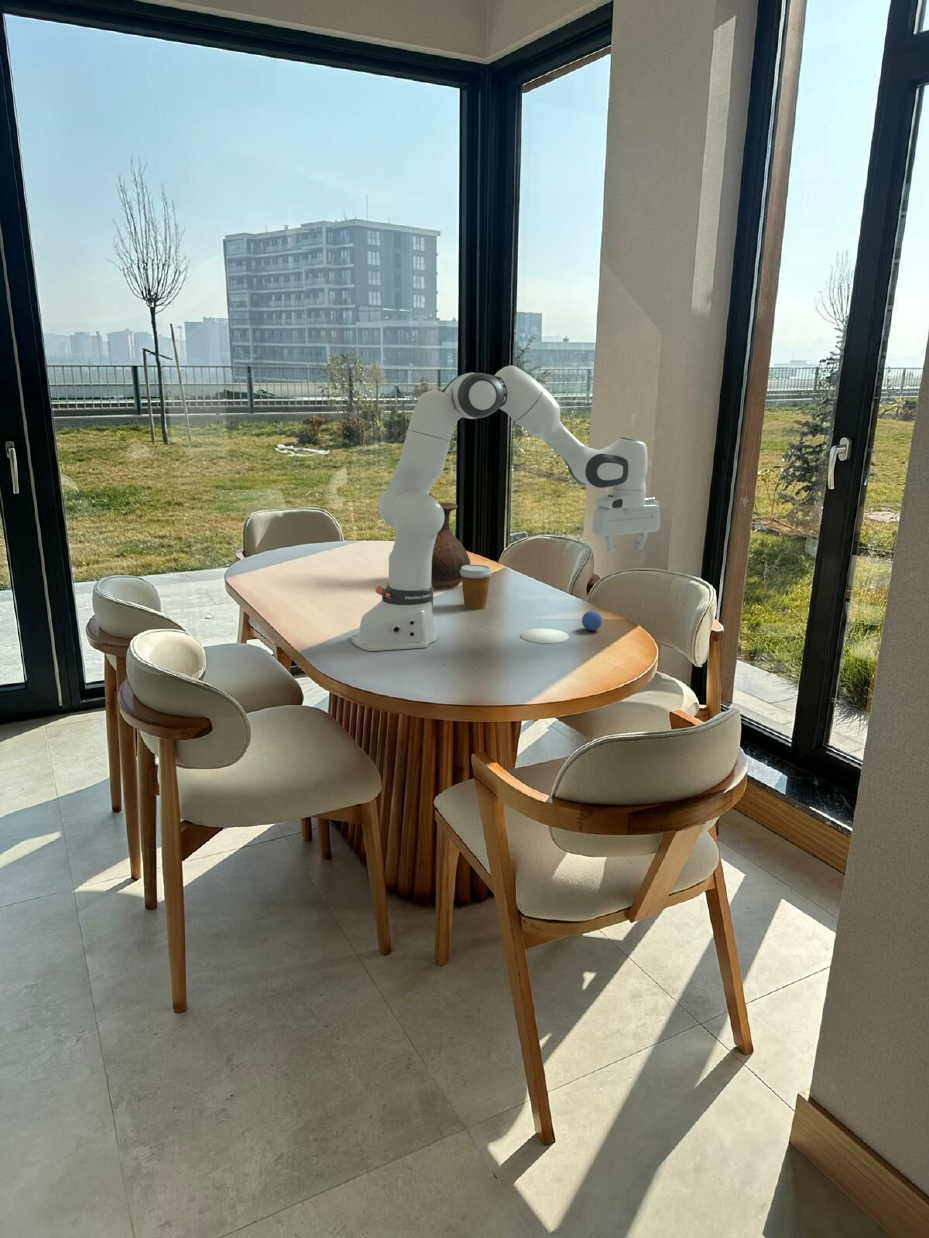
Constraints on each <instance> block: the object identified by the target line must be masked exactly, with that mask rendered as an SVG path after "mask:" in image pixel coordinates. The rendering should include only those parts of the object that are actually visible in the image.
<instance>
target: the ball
mask: <svg viewBox="0 0 929 1238" xmlns="http://www.w3.org/2000/svg"><path fill="white" fill-rule="evenodd" d="M581 623H582V626H583V627H584V628H585V629H586V630H588V631H590V632H591V631H597V630H598V629H599V628H600V627H602V624H603V617H602V615H601V613H600V612H598V611H596V610H588V611H585V613H584V614H583V615H582V618H581Z"/></svg>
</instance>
